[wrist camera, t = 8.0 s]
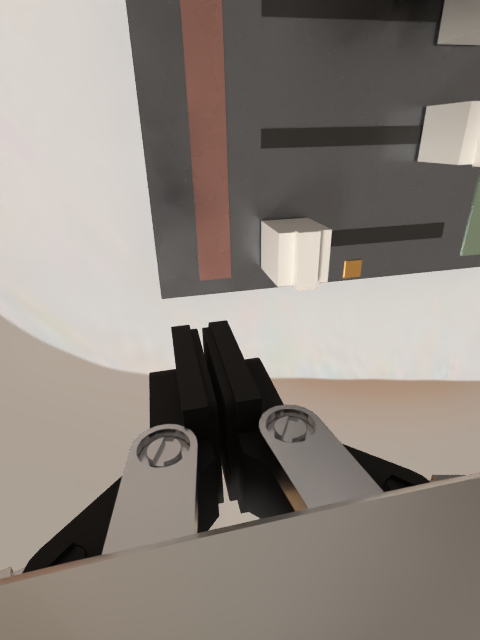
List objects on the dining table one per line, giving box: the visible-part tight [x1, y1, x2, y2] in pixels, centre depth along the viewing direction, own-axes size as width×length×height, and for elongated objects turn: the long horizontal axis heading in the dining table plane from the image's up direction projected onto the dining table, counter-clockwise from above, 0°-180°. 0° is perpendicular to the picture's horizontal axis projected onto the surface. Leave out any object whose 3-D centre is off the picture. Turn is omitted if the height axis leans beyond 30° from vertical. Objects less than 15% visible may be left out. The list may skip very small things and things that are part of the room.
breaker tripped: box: [261, 218, 332, 291], centre depth 22 cm, size 3×3×4 cm
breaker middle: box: [418, 101, 480, 167], centre depth 21 cm, size 3×3×4 cm
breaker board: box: [126, 0, 480, 299], centre depth 23 cm, size 18×26×2 cm
